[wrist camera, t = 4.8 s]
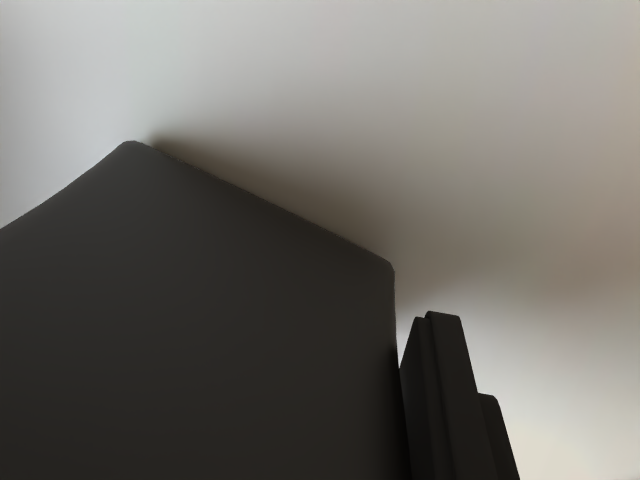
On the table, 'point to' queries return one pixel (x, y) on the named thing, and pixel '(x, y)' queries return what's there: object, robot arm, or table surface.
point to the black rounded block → (192, 336)
